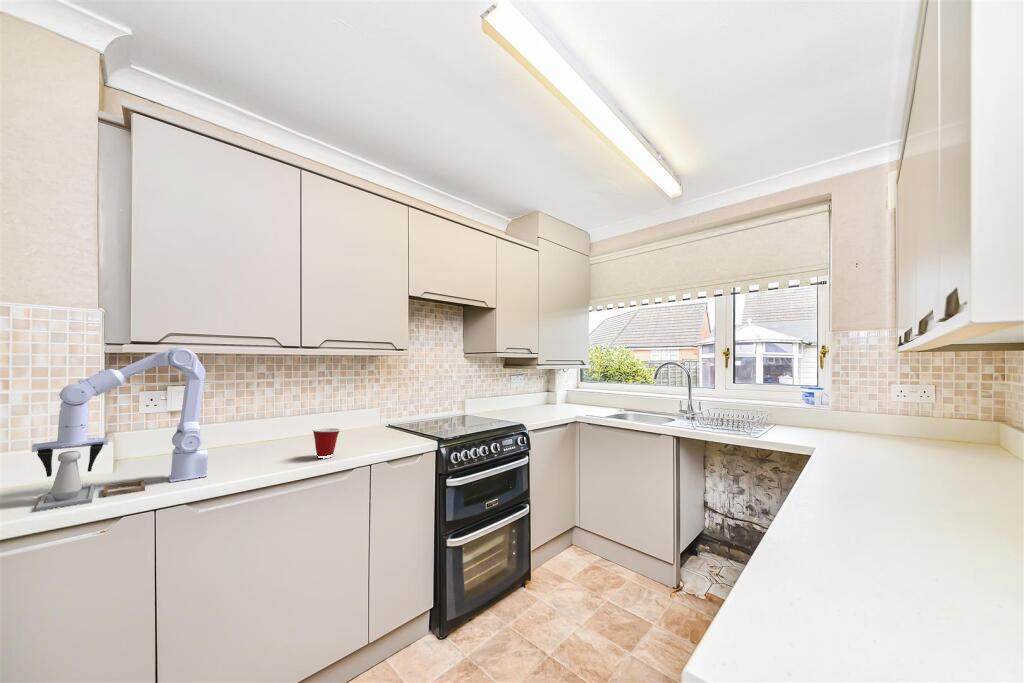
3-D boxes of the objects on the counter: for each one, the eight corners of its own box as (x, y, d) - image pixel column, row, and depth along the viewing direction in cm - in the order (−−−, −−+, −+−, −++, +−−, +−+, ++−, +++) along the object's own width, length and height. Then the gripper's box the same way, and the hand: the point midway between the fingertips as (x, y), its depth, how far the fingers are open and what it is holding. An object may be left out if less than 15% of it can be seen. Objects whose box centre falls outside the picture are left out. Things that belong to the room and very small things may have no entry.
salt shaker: (61, 502, 107) (65, 454, 107) (43, 501, 108) (47, 453, 108) (87, 495, 113) (90, 450, 113) (70, 493, 113) (73, 448, 114)
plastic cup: (345, 455, 166) (346, 427, 167) (327, 461, 156) (328, 431, 156) (323, 453, 169) (324, 425, 169) (304, 459, 158) (306, 429, 159)
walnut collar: (143, 483, 125) (144, 479, 125) (144, 490, 119) (145, 486, 119) (104, 489, 119) (104, 485, 119) (103, 497, 113) (103, 493, 113)
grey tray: (94, 487, 120) (95, 484, 120) (91, 502, 109) (92, 498, 109) (44, 495, 113) (44, 491, 113) (35, 511, 102) (35, 507, 102)
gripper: (109, 421, 120) (106, 465, 120) (36, 426, 110) (32, 474, 109) (109, 424, 115) (106, 470, 115) (32, 430, 105) (28, 481, 104)
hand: (69, 473), depth 112 cm, fingers open, 7 cm apart
